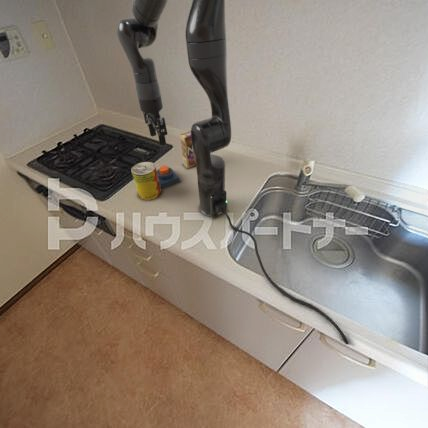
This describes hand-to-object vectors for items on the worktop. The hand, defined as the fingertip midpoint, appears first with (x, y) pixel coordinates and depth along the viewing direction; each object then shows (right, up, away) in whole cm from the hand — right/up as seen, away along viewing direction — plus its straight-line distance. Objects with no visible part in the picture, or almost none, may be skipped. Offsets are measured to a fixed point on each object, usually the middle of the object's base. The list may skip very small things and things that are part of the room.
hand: (158, 139), depth 90 cm
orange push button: (+1, -13, +13) cm, 18 cm away
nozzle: (+1, -11, +10) cm, 15 cm away
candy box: (+12, -5, +21) cm, 25 cm away
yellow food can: (-5, -20, +7) cm, 21 cm away
